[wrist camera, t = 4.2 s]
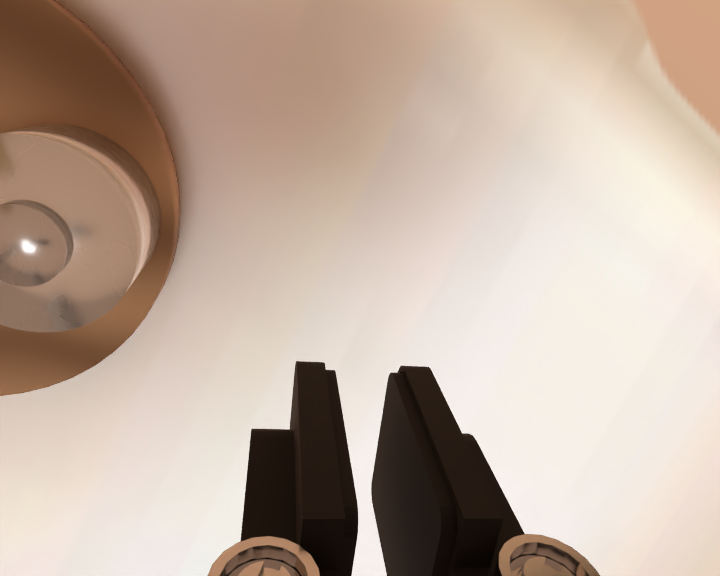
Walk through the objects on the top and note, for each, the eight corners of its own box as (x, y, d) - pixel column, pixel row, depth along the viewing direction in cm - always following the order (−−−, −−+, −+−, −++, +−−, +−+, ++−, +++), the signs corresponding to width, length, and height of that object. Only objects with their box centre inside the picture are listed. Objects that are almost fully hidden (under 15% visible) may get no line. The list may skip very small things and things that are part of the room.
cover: (162, 296, 24) (134, 347, 20) (-11, 286, 23) (-83, 337, 18) (160, 133, 22) (127, 149, 17) (-34, 113, 20) (-123, 124, 16)
